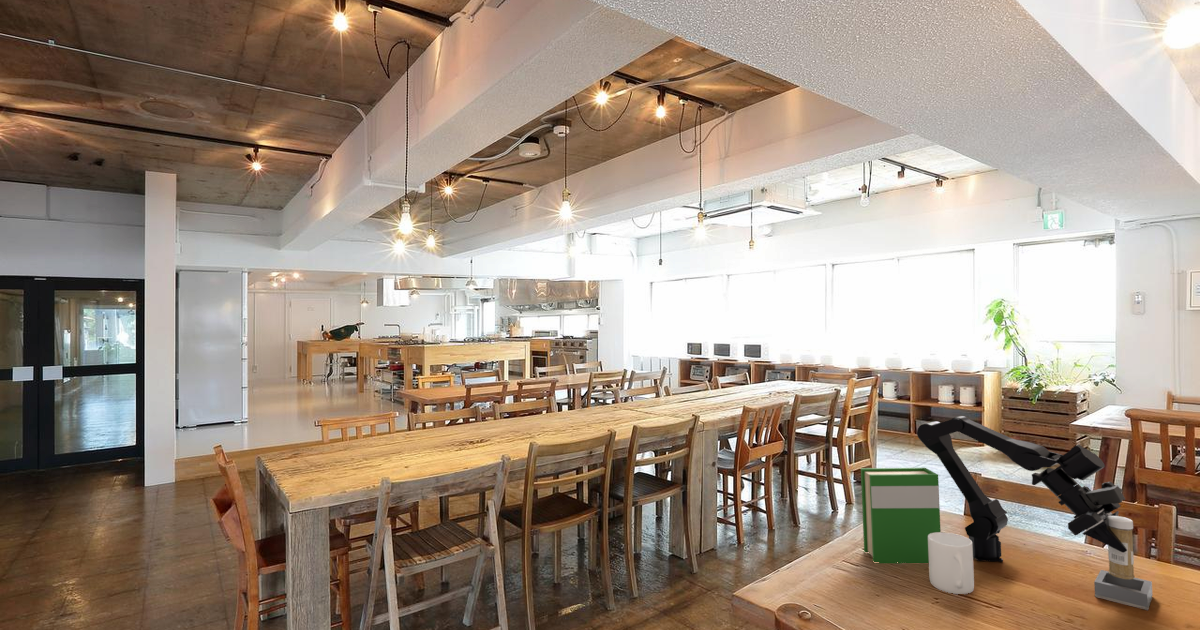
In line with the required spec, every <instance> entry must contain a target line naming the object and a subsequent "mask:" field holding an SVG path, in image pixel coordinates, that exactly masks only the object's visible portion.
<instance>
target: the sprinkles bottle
mask: <svg viewBox="0 0 1200 630" xmlns="http://www.w3.org/2000/svg"><path fill="white" fill-rule="evenodd" d="M1107 519H1109V528H1110V529H1111V531H1112V532H1113V533H1114V534H1115V535H1116V537H1117V538H1118V539H1119V540H1120V541H1121V543H1122V544H1123V545H1124V546H1125V548H1126V549H1127V551H1126V552H1124V553H1123V552H1120V551H1118V550H1116V549H1114V548H1112V547H1110V546H1108V545H1107V548H1108V549H1107V551H1108V554H1107V556H1108V569H1109V570H1108V571H1109V573H1110V574H1111V575H1113V576H1115V577H1117V578H1122V579H1133V578H1134V577H1135V573H1134V572H1135V571H1134V568H1135V567H1134V564H1135V563H1134V561H1135V560H1134V550H1133V549H1134V546H1133V545H1134V544H1133V530H1134V521H1133V520H1132V519H1131V518H1128V517H1125V516H1121V515H1120V516H1119V515H1118V516H1108V517H1107ZM1135 578H1136V577H1135Z"/></svg>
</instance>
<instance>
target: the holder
mask: <svg viewBox="0 0 1200 630" xmlns="http://www.w3.org/2000/svg"><path fill="white" fill-rule="evenodd" d="M1093 583H1094V586H1093V587H1094V597H1095V598H1099V599H1104V600H1107V601H1110V602H1114V603H1117V604H1121V605H1125V606H1129V607H1134V608H1136V609H1137V608H1138V609H1142V610H1145V611H1149V609H1150V606H1151V602H1152V599H1153V597H1152V596H1154V595H1153V582H1152V580H1147V579H1143V578H1138V577H1134V578H1133V579H1122V578H1117V577H1115V576H1113V575H1111V574H1110V573H1109V570H1104V569H1100V571H1099V573H1098V574H1097V577H1096V578H1095V580H1094V582H1093Z"/></svg>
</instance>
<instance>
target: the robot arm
mask: <svg viewBox="0 0 1200 630" xmlns="http://www.w3.org/2000/svg"><path fill="white" fill-rule="evenodd" d="M957 432H958V433H961V434H962V435H965V436H966V437H969V438H971V439H973V440H976V441H978V442H979V443H982V444H984V445H986V446H988V447H990V448H992V449H994V450H997V451H999V452H1001V453H1003V454H1004V455H1006V457H1007V458H1009V459H1010V460H1011V461H1012V462H1013V463H1015V464H1016V465H1018V466H1020V467H1021V468H1022V469H1024V470H1027V471H1029V472H1033V471H1034V473H1032V474H1031V485H1033V486H1036V485H1038V484H1039V483H1041V484H1043V485H1044V486H1045V487H1047V489H1049V491H1050V492H1051V493H1052V494H1054V496H1056V497H1057V499H1059V501H1058V502H1057V503H1058V504H1059V505H1060V506H1064V505H1065V507H1067V508H1068V509H1069V510H1070V512H1071V513H1072V514H1074V516H1073V519H1072V520H1071V521H1069V522H1067V528H1068V530H1069V531H1070V532H1071V534H1073V535H1074V536H1075V537H1076V536H1077V535H1079V534H1081V533H1082V535H1084V536H1088V537H1090V538H1092V539H1094V540H1096V541H1099V542H1100V543H1102V544H1105V545H1107V547H1108V546H1110V547H1112V548H1114V549H1116V550H1118V551H1120V552H1123V553H1124V552H1126V551H1127V549H1126V548H1125V546H1124V545H1123V544H1122V543H1121V541H1120V540H1119V539H1118V538H1117V537H1116V535H1115V534H1114V533H1113V532H1112V531H1111V529H1110V528H1109V519H1107V517H1108V516H1119V513H1120V512H1119V511H1118V510H1117V509H1119V508H1121V506H1122V505H1121V504H1120V503H1122V502H1123V501H1125V500H1126V497H1125V495H1124V494H1123V489H1122V488H1121V487H1120V486H1119V485H1118V484H1115V483H1113V482H1112V481H1107V482H1103V483H1101V488H1097V489H1090V488H1089V487H1088V486H1086V485H1084V486H1081V484H1080V483H1078V482H1077V479H1078V480H1080V481H1085V480H1087V479H1088V478H1089V477H1091V476H1093V475H1095V474H1096V473H1097V472H1099V471H1101V470H1102V469H1104V468H1105V467H1106V466H1105V463H1104V462H1103V460H1102V459H1101V458H1100V457H1099V456H1098V455H1097V454H1096V453H1094V452H1092V451H1091V450H1089V449H1087V448H1085V447H1083V446H1082V445H1081V444H1078V443H1077V444H1076V445H1074V446H1073V447H1071V448H1070V449H1069V451H1067V452H1065V453H1064V454H1061V453H1057V452H1054V451H1049V449H1047V448H1046V447H1045V446H1043V445H1040V444H1038V443H1037V444H1036V443H1033V442H1029V441H1025V440H1020V439H1015V438H1012V437H1009V436H1007V435H1005V434H1003V433H1000V432H999V431H996V430H994V429H992V428H990V427H988V426H985V425H983V424H980V423H978V422H975V421H974V420H972V419H969V418H968V417H967V416H964V415H959V416H955V417H953V418H952V419H949V420H946V421H942V422H940V421H938V420H937V421H935V420H934V421H931V422H927V423H926V422H925V423H923V424H920V426H918V428H917V431H916V436H917V438H918V440H919V441H920V442H921V443H922V445H924V446H925V447H926V448H927V449H928V450H930V451H931V452H932V453H934V455H936V456H937V457H938V459H939V460H940V462H941V463H942V465H943V467H944V468H945V470H946V471H947V472H948V474H949V475H950V477H951V478H952V480H953V482H954V483H955V485H956V486H957V488H958V489H959V491H960V492H961V494H962V496H963V497H964V498H965V500H966V501H967V504H968V508H969V514H970V516H971V519H972V521H973V522H972V523H969V524H968V525H967V526H965V527H964V530H965V532H966V535H967V536H968V538H969V539H970V540H971V541H972V546H973V559H974V560H975V561H977V562H999V563H1000V562H1001V563H1002V562H1004V559H1003V558H1001V557H1002V543H1001V541H1000V538H999V537H1000V536H998V534H1000V532H1001V530H1002V529H1004V528H1005V527H1006V526H1007V525H1008V521H1009V519H1008V518H1009V517H1008V516H1007V514H1008V512H1007V510H1005V509H1004V507H1003V506H1002V505H1001V503H1000V501H999V500H998V499H997V498H996V499H991V498H990V497H988V496H987V495H986V494H985V493H984V491H983V490H982V488H981V487H980V485H979V484H978V483H977V481H976V479H974V477H973V475H972V474H971V472H970V471H969V469H968V468H967V466H966V465H965V464H964V462H963V460H962V459H961V458H960V456H959V454H958V453H957V452H956V450H955V449H954V446H953V445H954V444H953V440H952V436H951V434H954V433H957ZM1055 465H1058V466H1057V467H1056V468H1051V467H1054V466H1055ZM1043 468H1046V469H1044V470H1042V471H1041V472H1039V473H1038V472H1035V471H1039V470H1041V469H1043ZM1115 510H1117V511H1115ZM1113 511H1115V512H1113ZM1112 512H1113V513H1112Z"/></svg>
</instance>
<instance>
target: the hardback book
mask: <svg viewBox="0 0 1200 630" xmlns="http://www.w3.org/2000/svg"><path fill="white" fill-rule="evenodd" d="M860 480H861V481H860V482H861V486H860V487H861V504H862V505H861V508H862V531H863V532H862V533H863V552H864V551H865V552H869V553H870V556H871V557H872V562H873V561H874V562H879V563H878V564H902V563H929V555H928V535H929V534H930V533H935V532H942V531H941V510H940V509H941V508H940V489H939V488H940V486H939V484H940V482H939V474H938V473H935V472H934V471H932V470H930V469H928V468H927V467H868V468H867V467H866V468H865V467H864V468H863V467H861V468H860ZM897 562H898V563H897Z"/></svg>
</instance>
